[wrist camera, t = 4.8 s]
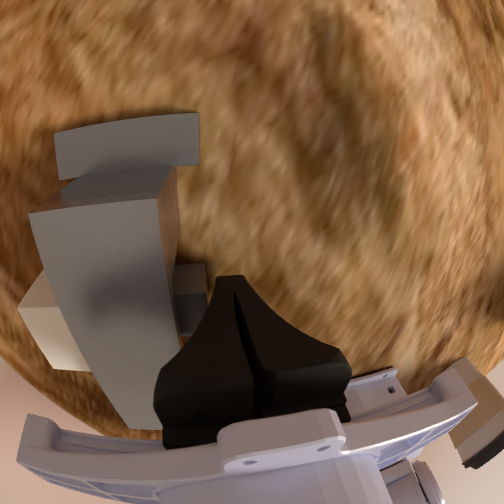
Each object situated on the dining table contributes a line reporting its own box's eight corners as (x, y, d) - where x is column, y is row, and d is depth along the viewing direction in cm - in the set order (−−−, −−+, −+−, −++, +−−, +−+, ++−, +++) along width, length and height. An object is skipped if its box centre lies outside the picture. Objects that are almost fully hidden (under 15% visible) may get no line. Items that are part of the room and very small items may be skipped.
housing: (199, 112, 10) (194, 113, 6) (215, 377, 18) (223, 441, 13) (64, 130, 9) (-7, 152, 5) (131, 379, 17) (124, 440, 12)
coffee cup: (411, 402, 28) (455, 486, 15) (451, 355, 24) (512, 447, 11) (446, 389, 31) (488, 459, 18) (482, 346, 27) (534, 419, 14)
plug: (203, 247, 13) (204, 298, 10) (211, 312, 15) (215, 368, 12) (48, 262, 12) (16, 307, 8) (72, 320, 14) (53, 368, 10)
